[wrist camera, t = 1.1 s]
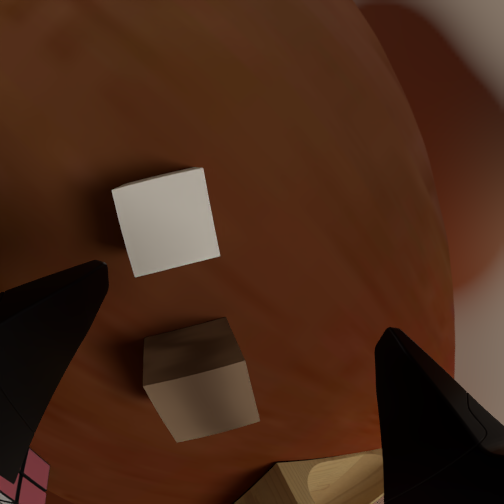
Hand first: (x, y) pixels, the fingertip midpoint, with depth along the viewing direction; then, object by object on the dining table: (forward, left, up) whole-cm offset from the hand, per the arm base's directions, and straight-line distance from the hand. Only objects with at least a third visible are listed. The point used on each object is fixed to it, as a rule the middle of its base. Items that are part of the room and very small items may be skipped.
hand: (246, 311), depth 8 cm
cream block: (-2, +1, -13) cm, 13 cm away
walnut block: (-3, -12, -13) cm, 18 cm away
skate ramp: (0, -57, -14) cm, 59 cm away
